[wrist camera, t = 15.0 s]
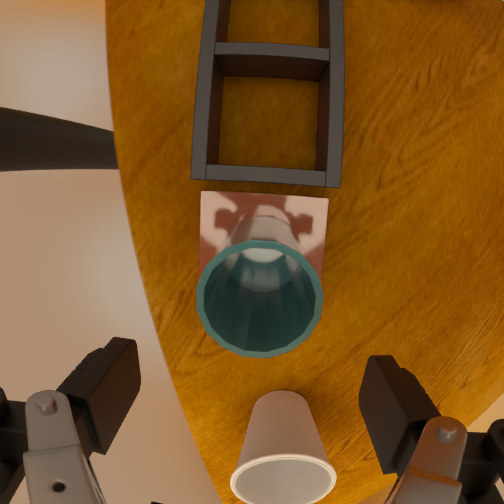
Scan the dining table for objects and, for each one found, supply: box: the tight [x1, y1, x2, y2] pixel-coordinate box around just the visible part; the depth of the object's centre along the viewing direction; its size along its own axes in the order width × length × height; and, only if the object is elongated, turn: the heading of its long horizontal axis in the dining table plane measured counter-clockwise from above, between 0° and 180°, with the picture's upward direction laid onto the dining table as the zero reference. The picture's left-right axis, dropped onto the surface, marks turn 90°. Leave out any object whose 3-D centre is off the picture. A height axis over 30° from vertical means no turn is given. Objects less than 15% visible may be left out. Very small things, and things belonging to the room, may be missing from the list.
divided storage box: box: [191, 0, 345, 188], centre depth 20 cm, size 10×18×5 cm, turn 177°
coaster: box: [199, 190, 329, 284], centre depth 26 cm, size 10×10×1 cm
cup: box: [196, 216, 324, 358], centre depth 21 cm, size 6×6×10 cm
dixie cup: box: [230, 390, 336, 504], centre depth 25 cm, size 8×8×10 cm
